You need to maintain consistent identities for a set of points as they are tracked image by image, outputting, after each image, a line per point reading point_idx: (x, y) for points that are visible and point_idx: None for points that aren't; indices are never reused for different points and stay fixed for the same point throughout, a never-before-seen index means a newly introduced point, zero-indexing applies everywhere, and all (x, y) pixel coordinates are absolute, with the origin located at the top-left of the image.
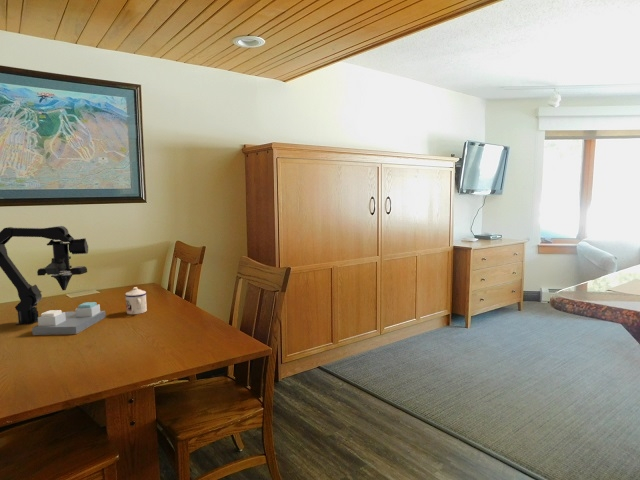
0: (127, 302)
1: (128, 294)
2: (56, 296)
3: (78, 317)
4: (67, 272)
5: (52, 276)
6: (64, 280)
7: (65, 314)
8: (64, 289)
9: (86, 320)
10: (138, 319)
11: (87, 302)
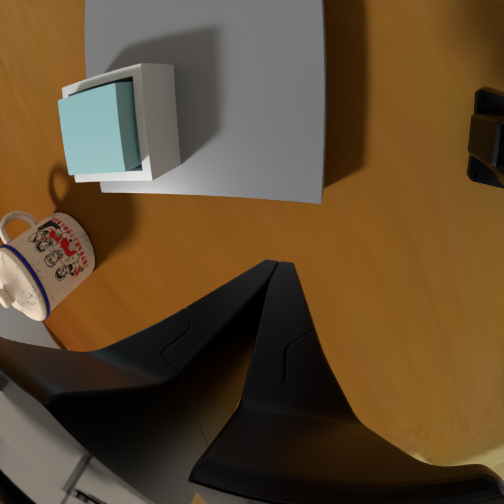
0: (40, 242)
1: (9, 258)
2: (456, 459)
3: (150, 53)
4: (7, 464)
5: (450, 488)
6: (148, 342)
7: (284, 122)
8: (260, 265)
9: (87, 17)
10: (22, 150)
11: (108, 169)
